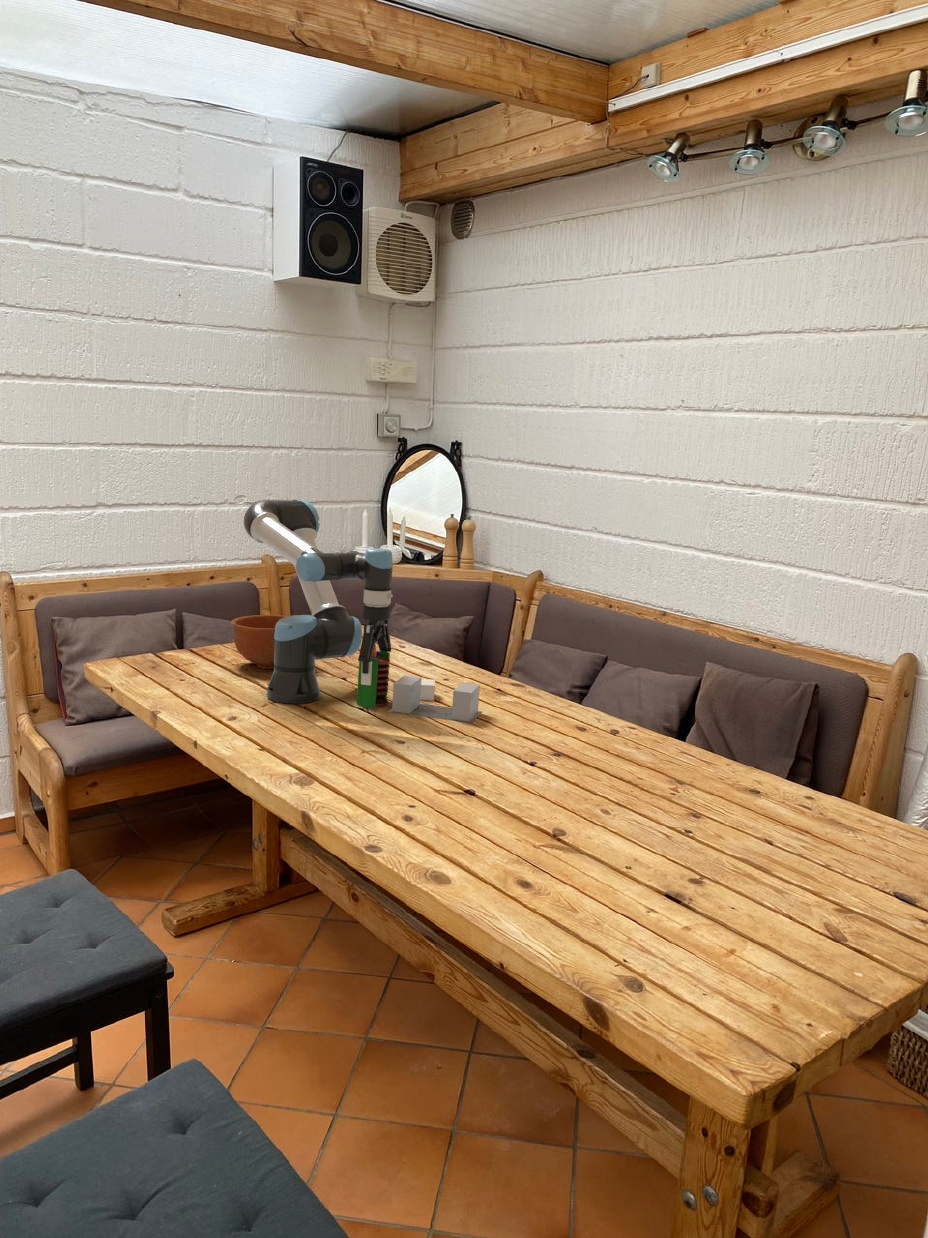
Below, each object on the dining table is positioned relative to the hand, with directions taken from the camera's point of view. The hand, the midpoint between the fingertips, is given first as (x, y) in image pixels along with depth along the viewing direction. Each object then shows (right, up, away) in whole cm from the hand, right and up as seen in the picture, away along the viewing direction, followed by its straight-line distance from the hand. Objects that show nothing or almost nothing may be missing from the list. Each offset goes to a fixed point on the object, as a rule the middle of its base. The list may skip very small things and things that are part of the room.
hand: (374, 679), depth 268 cm
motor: (-1, -9, +2) cm, 9 cm away
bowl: (-38, +1, +43) cm, 58 cm away
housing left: (+9, -8, -1) cm, 12 cm away
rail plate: (+17, -10, -2) cm, 20 cm away
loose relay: (+14, -7, +13) cm, 20 cm away
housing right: (+25, -10, -5) cm, 28 cm away
